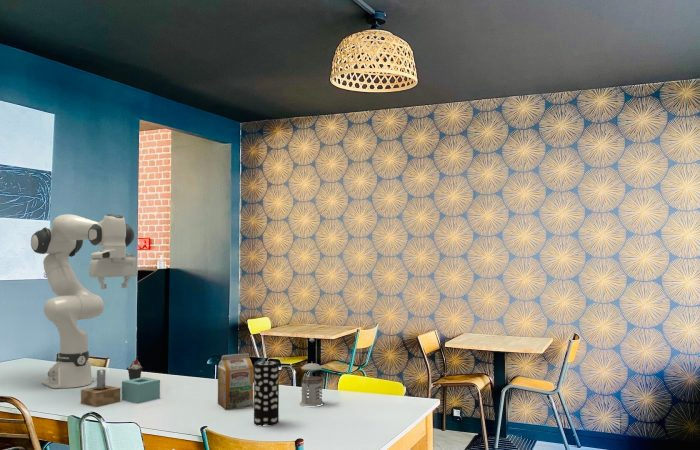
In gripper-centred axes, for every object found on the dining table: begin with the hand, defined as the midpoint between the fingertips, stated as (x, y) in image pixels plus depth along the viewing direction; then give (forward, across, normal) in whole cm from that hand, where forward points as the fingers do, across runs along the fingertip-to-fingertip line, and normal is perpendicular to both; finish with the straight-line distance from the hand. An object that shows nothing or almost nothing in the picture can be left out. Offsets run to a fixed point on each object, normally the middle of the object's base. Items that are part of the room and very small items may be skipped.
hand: (114, 288), depth 246 cm
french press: (+44, -35, +73) cm, 92 cm away
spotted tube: (+45, -7, +76) cm, 88 cm away
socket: (+43, +11, +8) cm, 45 cm away
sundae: (+44, -9, +1) cm, 44 cm away
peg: (+42, +11, +8) cm, 44 cm away
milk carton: (+44, -18, +50) cm, 69 cm away
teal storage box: (+44, -1, +16) cm, 46 cm away
